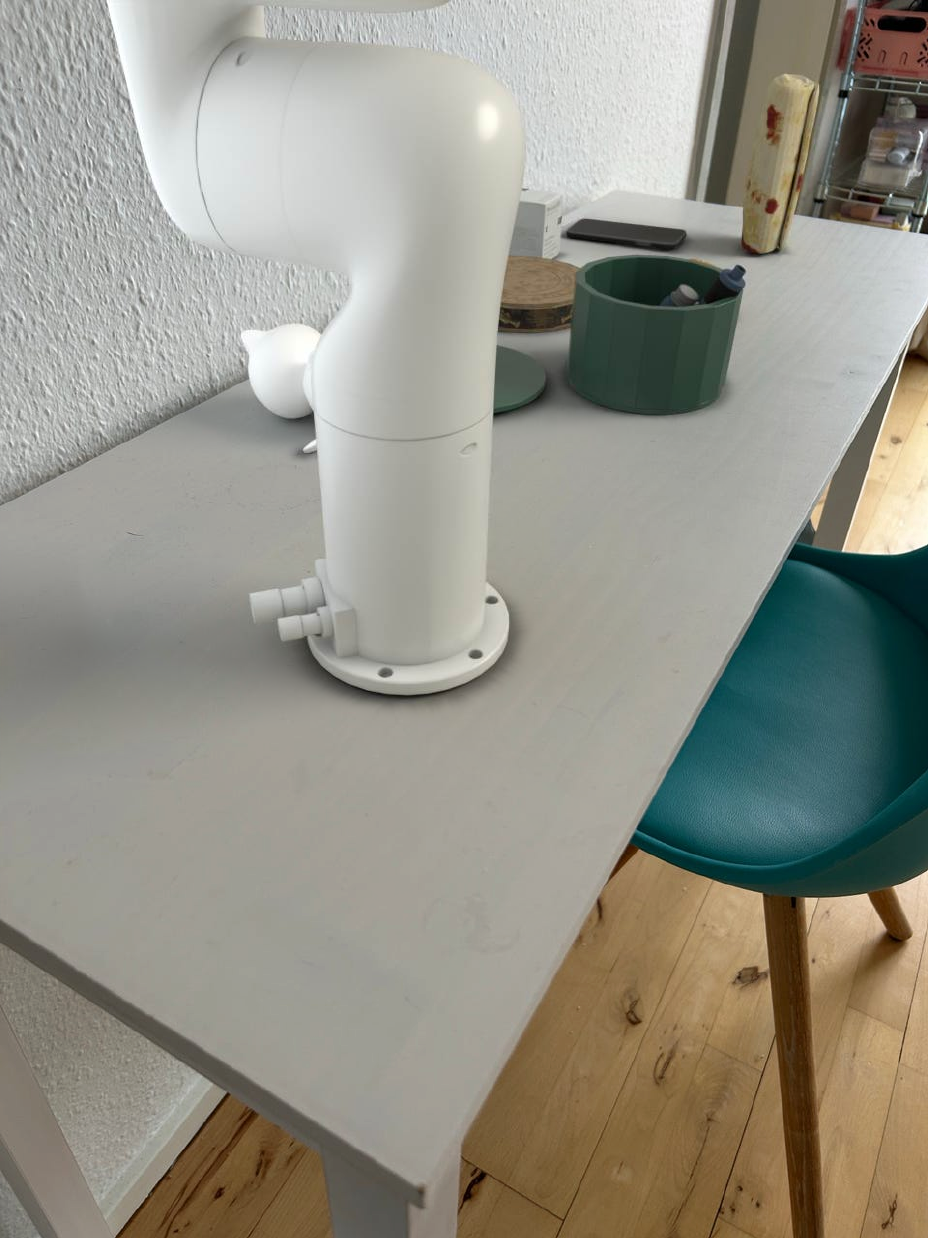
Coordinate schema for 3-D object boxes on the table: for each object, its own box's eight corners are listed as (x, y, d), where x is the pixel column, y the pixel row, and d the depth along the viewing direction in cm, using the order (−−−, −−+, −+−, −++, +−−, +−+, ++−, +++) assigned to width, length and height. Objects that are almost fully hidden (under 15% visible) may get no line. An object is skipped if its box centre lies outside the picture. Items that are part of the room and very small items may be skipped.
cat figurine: (379, 323, 75) (259, 290, 80) (316, 432, 73) (194, 392, 77) (409, 388, 83) (298, 355, 87) (353, 489, 81) (241, 450, 85)
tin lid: (404, 431, 81) (403, 356, 77) (360, 361, 93) (357, 292, 89) (572, 408, 86) (579, 336, 81) (509, 344, 97) (513, 278, 93)
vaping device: (673, 387, 89) (754, 282, 80) (625, 363, 88) (701, 254, 79) (673, 372, 91) (752, 267, 82) (625, 348, 89) (700, 239, 81)
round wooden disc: (555, 343, 97) (557, 314, 96) (422, 313, 103) (421, 285, 102) (613, 297, 109) (617, 271, 107) (490, 273, 114) (491, 247, 113)
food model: (739, 235, 129) (772, 66, 117) (790, 242, 127) (828, 70, 115) (728, 256, 122) (761, 78, 109) (782, 263, 120) (822, 82, 107)
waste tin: (607, 423, 83) (620, 316, 77) (543, 359, 94) (550, 261, 88) (752, 403, 87) (775, 300, 81) (674, 344, 98) (689, 249, 92)
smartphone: (580, 217, 131) (688, 229, 127) (580, 224, 132) (687, 236, 127) (564, 231, 126) (676, 244, 121) (563, 238, 126) (675, 251, 122)
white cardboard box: (541, 267, 116) (546, 204, 112) (496, 260, 118) (499, 197, 114) (559, 254, 121) (564, 192, 116) (515, 247, 123) (519, 186, 118)
